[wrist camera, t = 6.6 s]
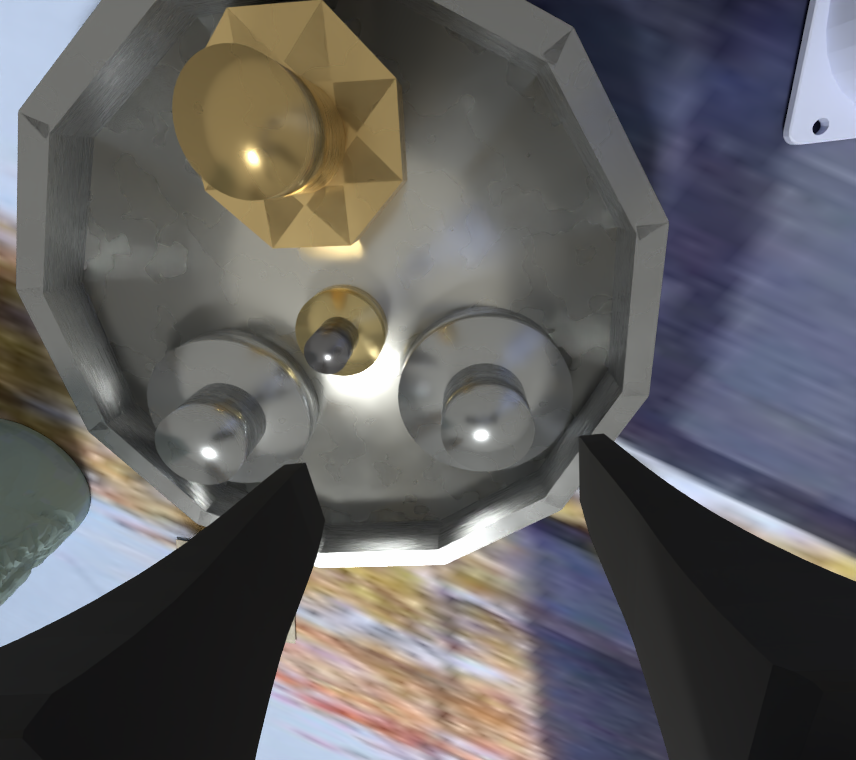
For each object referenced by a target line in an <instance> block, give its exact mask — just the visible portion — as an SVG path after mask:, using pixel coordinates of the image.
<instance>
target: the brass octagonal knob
mask: <svg viewBox="0 0 856 760" xmlns="http://www.w3.org/2000/svg"><path fill="white" fill-rule="evenodd" d="M172 114H173V123H174V128H175V132H176V135H177V139H178V142H179V144H180V146H181V149H182V151H183V153H184V155H185V156H186V158H187V160H188V161H189V163H190V164H191V166H192V167H193V169H194V170H195V171H196V172H197V173H198V174H199V176H200V177H201V178H202V181H203V185H204V189H205V191H206V192H207V193H208V194H209V195H211V196H212V197H213V198H214V199H215V200H216V201H218V202H219V203H220V204H221V205H222V206H223V207H225V208H226V209H227V210H228V211H229V212H231V213H232V214H233V215H234V216H235V217H236V218H238V219H239V220H240V221H241V222H242V223H243V224H245V225H246V226H247V227H248V228H249V229H250V230H252V231H253V232H254V233H255V234H256V235H257V236H259V237H260V238H261V239H262V240H263V241H264V242H266V243H267V244H268V245H269V246H270V247H272V248H300V247H327V246H351V245H352V244H354V243H355V242H357V241H358V240H359V239H360V238H361V237H362V236H363V234H364V233H365V232H366V231H367V229H368V228H369V227H370V226H371V224H372V223H373V222H374V221H375V220H376V218H377V217H378V216H379V215H380V213H381V212H382V211H383V210H384V208H385V207H386V206H387V205H388V203H389V202H390V201H391V200H392V199H393V197H394V196H395V195H396V194H397V192H398V191H399V190H400V189H401V187H402V186H403V185H404V184H405V182H406V181H407V164H406V147H405V131H404V114H403V97H402V86H401V84H400V83H399V82H398V80H397V79H396V77H395V76H394V75H393V74H392V73H391V72H390V71H389V70H388V69H387V68H386V67H385V66H384V65H383V64H382V63H381V62H380V61H379V60H378V58H377V57H376V56H375V55H374V54H373V53H372V52H371V51H370V50H369V49H368V48H367V47H366V46H365V45H364V44H363V43H362V42H361V40H360V39H359V38H358V37H357V36H356V35H355V34H354V33H353V32H352V31H351V30H350V29H349V28H348V27H347V26H346V25H345V24H344V22H343V21H342V20H341V19H340V18H339V17H338V16H337V15H336V14H335V13H334V12H333V11H332V10H331V9H330V8H329V7H328V6H327V4H326V3H325V2H324V1H323V0H311V1H299V2H287V3H275V4H263V5H251V6H239V7H227V8H226V10H225V12H224V14H223V16H222V18H221V19H220V21H219V23H218V25H217V27H216V29H215V31H214V32H213V34H212V36H211V38H210V40H209V42H208V44H207V46H206V47H205V48H204V49H202V50H200V51H199V52H197V53H196V54H195V55H194V56H192V57H191V58H190V59H189V61H188V62H187V63H186V64H185V66H184V67H183V69H182V70H181V72H180V74H179V76H178V79H177V81H176V85H175V88H174V93H173V100H172Z"/></svg>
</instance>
